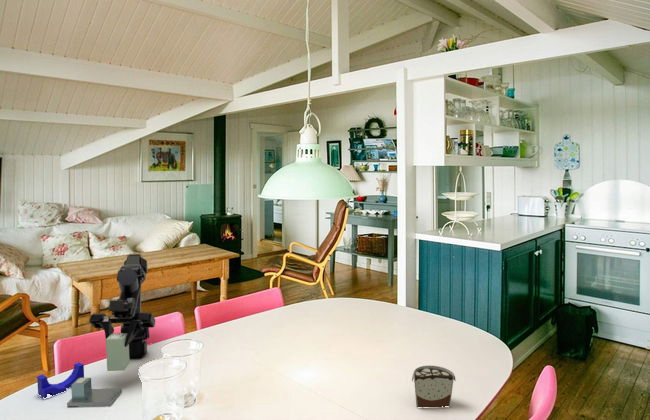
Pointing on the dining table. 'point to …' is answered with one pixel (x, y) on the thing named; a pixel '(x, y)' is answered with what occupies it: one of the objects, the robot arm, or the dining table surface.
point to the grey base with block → (91, 394)
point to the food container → (433, 386)
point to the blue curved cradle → (54, 389)
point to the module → (117, 352)
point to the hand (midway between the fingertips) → (116, 346)
